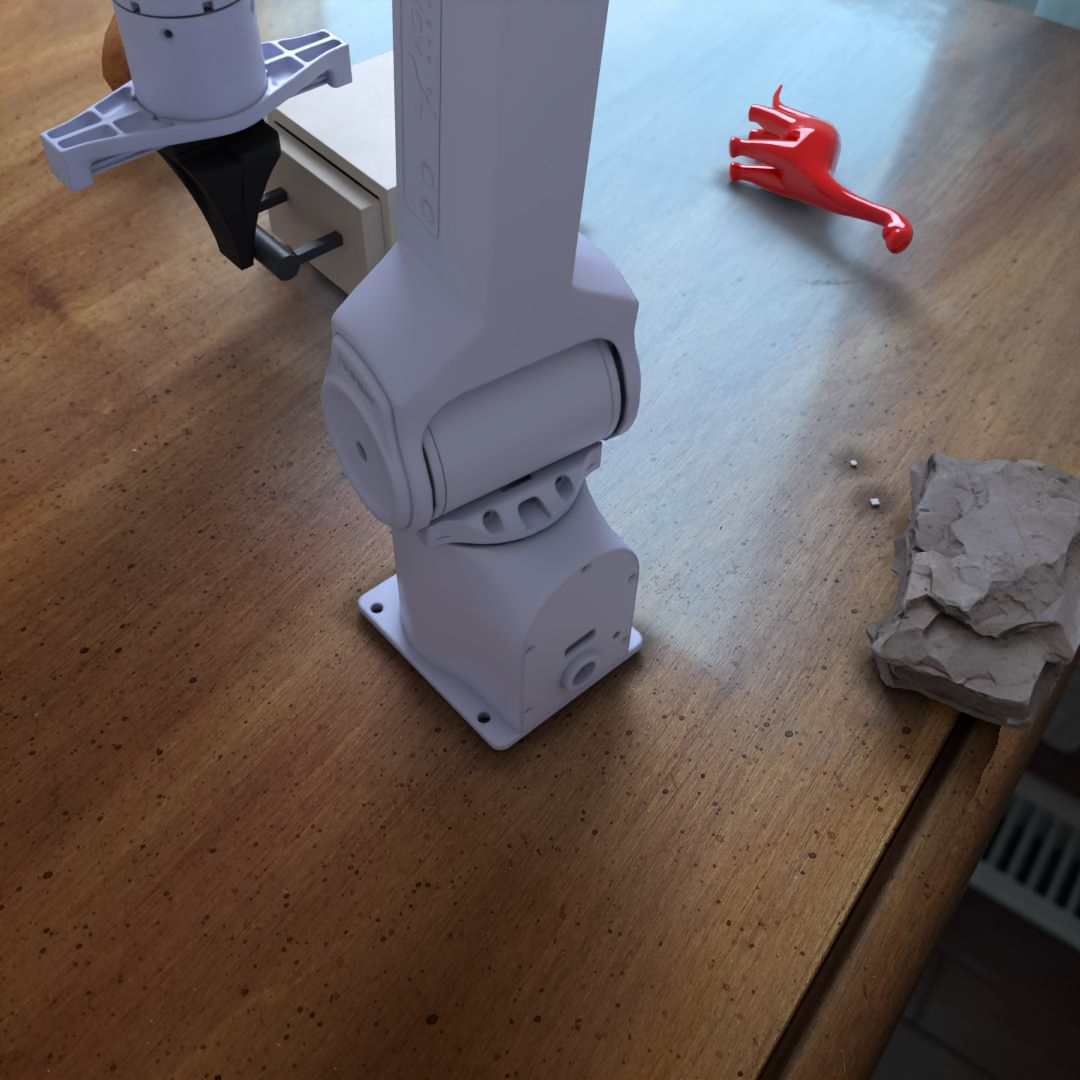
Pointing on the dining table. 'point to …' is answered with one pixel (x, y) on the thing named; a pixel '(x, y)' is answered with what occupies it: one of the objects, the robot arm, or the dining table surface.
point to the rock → (985, 587)
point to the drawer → (318, 218)
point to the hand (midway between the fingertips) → (237, 258)
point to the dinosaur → (807, 167)
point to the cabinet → (353, 130)
